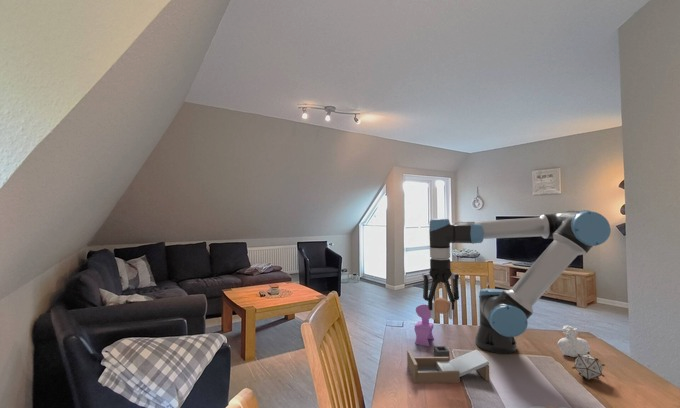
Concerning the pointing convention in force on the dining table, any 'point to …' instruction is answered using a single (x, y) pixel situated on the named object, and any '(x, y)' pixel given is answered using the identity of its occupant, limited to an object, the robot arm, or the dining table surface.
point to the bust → (573, 343)
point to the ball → (441, 305)
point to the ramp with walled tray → (446, 367)
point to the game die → (588, 366)
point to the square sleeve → (441, 351)
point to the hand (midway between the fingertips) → (441, 318)
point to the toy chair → (423, 326)
